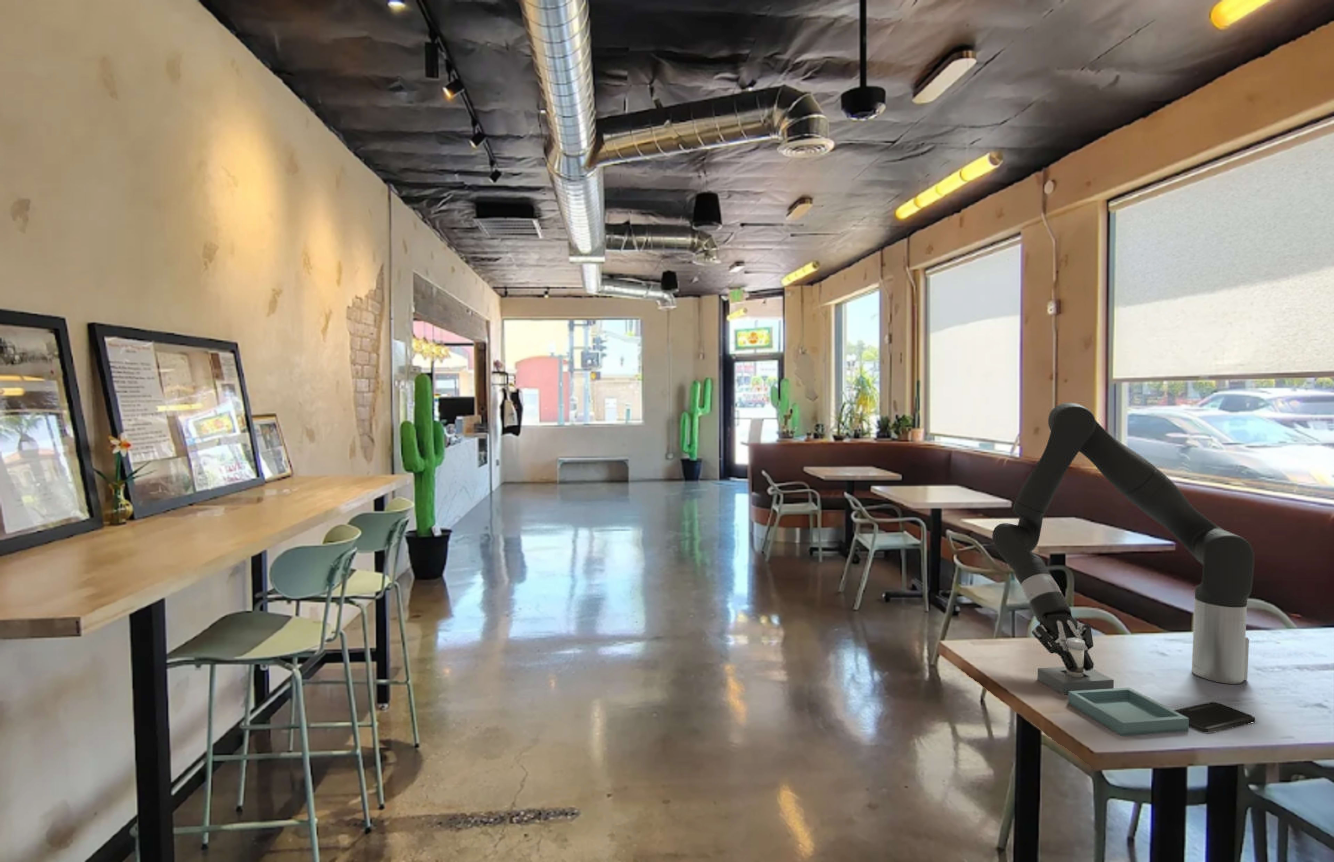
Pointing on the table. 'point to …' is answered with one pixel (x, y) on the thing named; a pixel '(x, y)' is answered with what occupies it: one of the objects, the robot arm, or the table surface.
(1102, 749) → the table surface
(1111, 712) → the parts tray
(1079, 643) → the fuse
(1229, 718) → the phone
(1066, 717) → the table surface
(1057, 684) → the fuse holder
